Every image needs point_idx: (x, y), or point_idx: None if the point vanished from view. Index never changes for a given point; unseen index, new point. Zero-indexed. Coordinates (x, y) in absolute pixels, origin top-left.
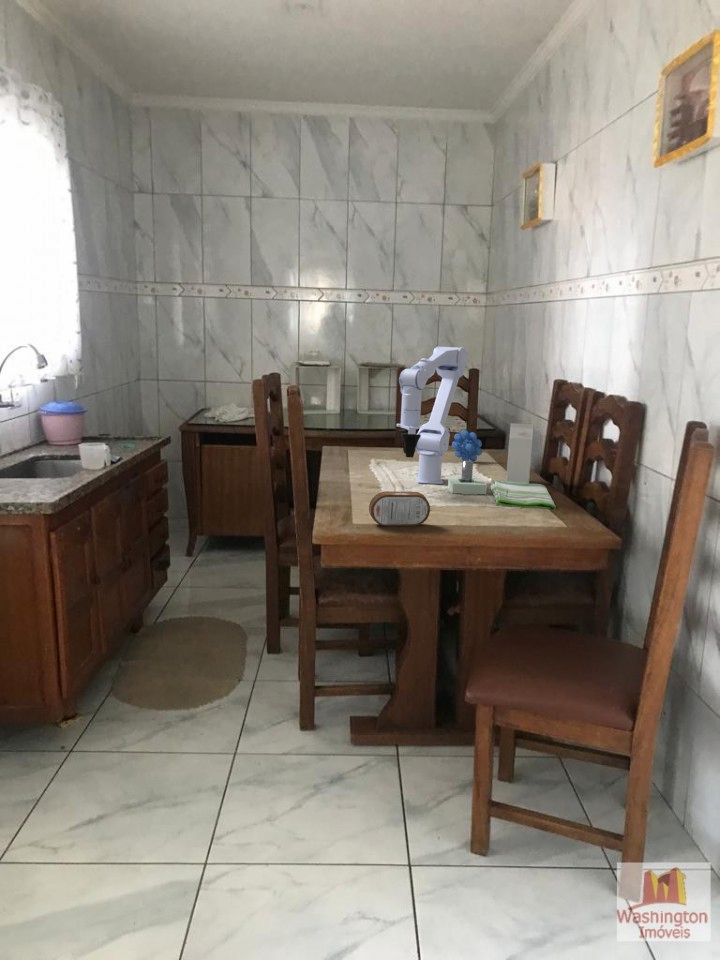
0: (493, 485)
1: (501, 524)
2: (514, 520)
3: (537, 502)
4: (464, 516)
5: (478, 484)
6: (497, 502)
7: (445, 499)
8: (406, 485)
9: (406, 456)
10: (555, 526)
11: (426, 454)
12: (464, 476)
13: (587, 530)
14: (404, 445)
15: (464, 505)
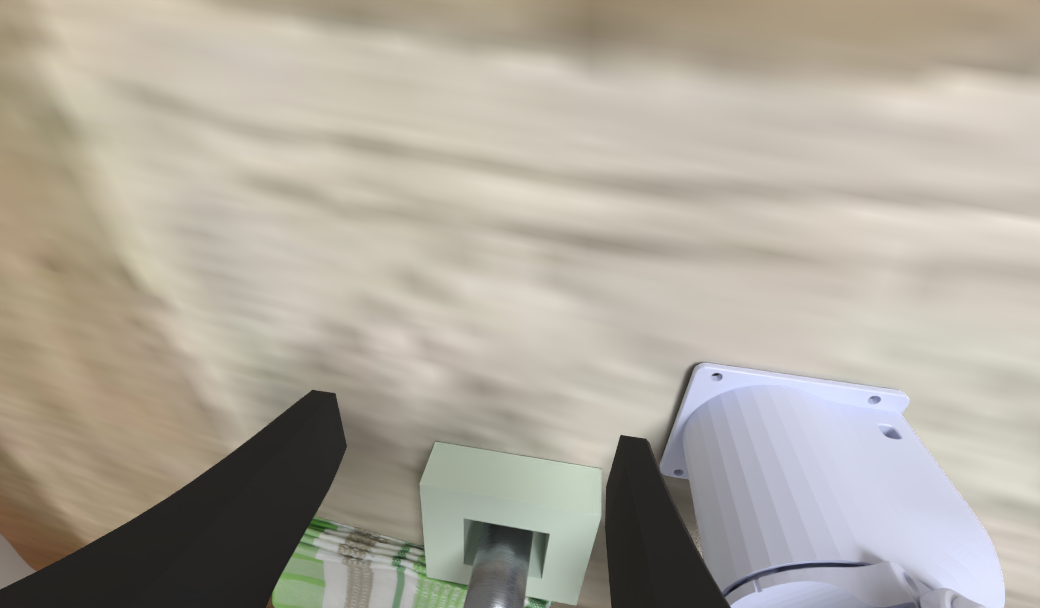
0: None
1: (7, 436)
2: (84, 481)
3: (273, 595)
4: (36, 367)
5: (428, 558)
6: None
7: (309, 383)
8: (653, 279)
9: (305, 397)
10: (81, 535)
11: (750, 588)
12: (477, 562)
13: None
14: (631, 530)
15: (223, 418)
